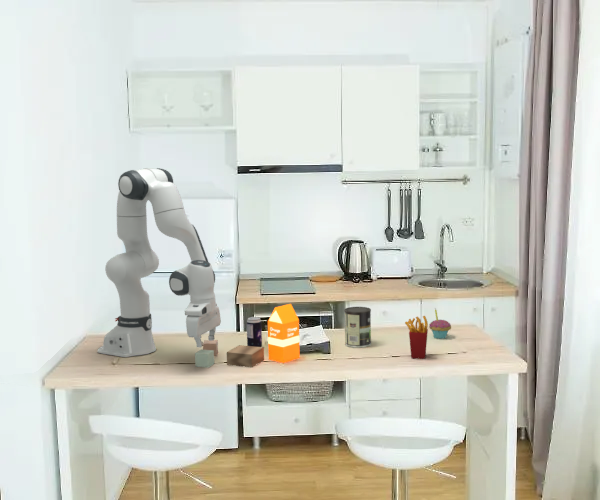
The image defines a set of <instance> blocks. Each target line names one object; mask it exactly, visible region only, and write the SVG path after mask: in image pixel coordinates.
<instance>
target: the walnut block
mask: <svg viewBox="0 0 600 500" xmlns="http://www.w3.org/2000/svg"><path fill="white" fill-rule="evenodd" d="M264 360H265V347H263V346H262V347H254V346H247V345H245V344H244V345H240V344H239V345H237V346H235V347H233V348H232V349H230V350H228V351H226V365H228V366H233V365H236V366H235V367H243V366H245V367H244V368H253V366H254V367H255V366H257V365H258V364H260V363H261V361H262V362H263V361H264ZM256 364H257V365H256Z"/></svg>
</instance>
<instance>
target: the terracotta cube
mask: <svg viewBox="0 0 600 500" xmlns="http://www.w3.org/2000/svg"><path fill="white" fill-rule="evenodd" d="M218 344H219V343H218V339H214V340H213V341H209V340H206V339H205V340H204V341H203V346H202V350H214V357H218V353H219V345H218Z"/></svg>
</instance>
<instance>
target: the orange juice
mask: <svg viewBox="0 0 600 500" xmlns="http://www.w3.org/2000/svg"><path fill="white" fill-rule="evenodd" d="M267 344H268V360H269V361H273V362H277V363H282V364H285V363H289V362H291V361H294V360H297V359H300V358H301V357H300V352H301V351H300V349H301V348H300V319H299V317H298V315H297V313H296V311H295V309H294V307H293V305H292V303H288V304H284V305H279V306H275V307H274V309H273V311H272V313H271V315H270V317H269V319H268V320H267Z"/></svg>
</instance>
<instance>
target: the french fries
mask: <svg viewBox="0 0 600 500" xmlns="http://www.w3.org/2000/svg"><path fill="white" fill-rule="evenodd" d="M422 318H423V320H424V322H422V319H421V318H420V317H419V316H416V317H415V318H414V317H413V318H412V319H411V318H409V319H408V321H405V322H404V324H405V325H406V326H407V328H408V330H409V332H408V337H409V338H408V339H409V346H410V348H409V349H410V358H411V359H416V360H419V359H420V360H425V359H426V355H427V353H426V352H427V344H428V343H427V342H428V334H429V333H428V332H429V330H428V329H429V328H428V326H429V324H428V319H427V317H426V315H423V316H422ZM414 322H415V323H414Z"/></svg>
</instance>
